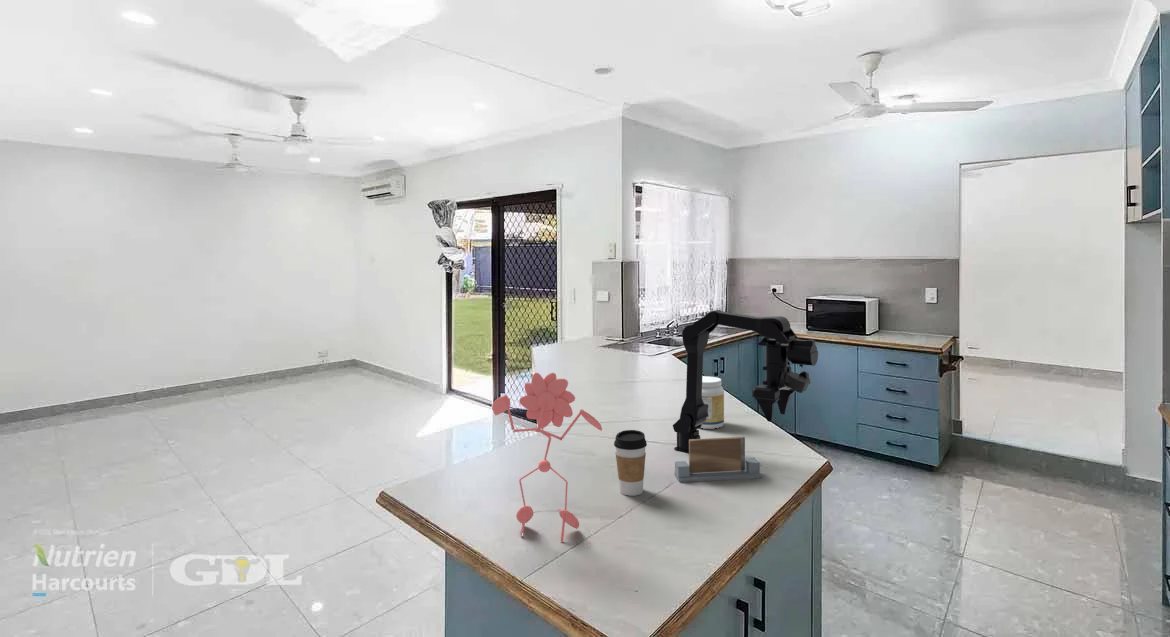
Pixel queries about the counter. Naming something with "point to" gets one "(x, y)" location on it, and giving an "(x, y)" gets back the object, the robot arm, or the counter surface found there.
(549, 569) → the counter surface
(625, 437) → the coffee cup
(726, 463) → the gate leaf
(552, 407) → the figurine
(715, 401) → the supplement tub
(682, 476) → the gate frame
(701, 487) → the counter surface
